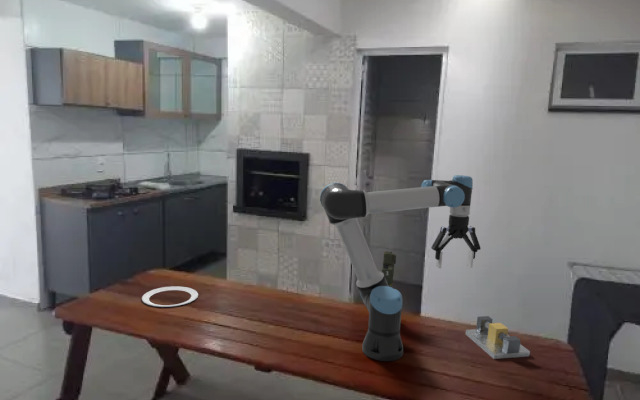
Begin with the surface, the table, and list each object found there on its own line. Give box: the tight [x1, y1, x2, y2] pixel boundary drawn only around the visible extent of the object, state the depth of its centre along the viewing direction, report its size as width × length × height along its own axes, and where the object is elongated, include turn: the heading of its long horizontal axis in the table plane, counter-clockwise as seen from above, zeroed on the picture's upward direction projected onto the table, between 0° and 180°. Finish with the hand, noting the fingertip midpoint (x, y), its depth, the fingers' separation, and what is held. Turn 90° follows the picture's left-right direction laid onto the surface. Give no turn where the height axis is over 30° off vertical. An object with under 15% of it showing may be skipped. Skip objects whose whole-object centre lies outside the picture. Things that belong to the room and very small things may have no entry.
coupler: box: [488, 322, 509, 344], centre depth 178 cm, size 9×5×6 cm, turn 12°
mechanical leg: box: [381, 251, 397, 287], centre depth 199 cm, size 14×7×30 cm, turn 169°
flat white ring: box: [141, 285, 199, 308], centre depth 211 cm, size 25×25×1 cm
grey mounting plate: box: [465, 315, 531, 360], centre depth 178 cm, size 21×15×7 cm
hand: (454, 267), depth 181 cm, fingers open, 13 cm apart
